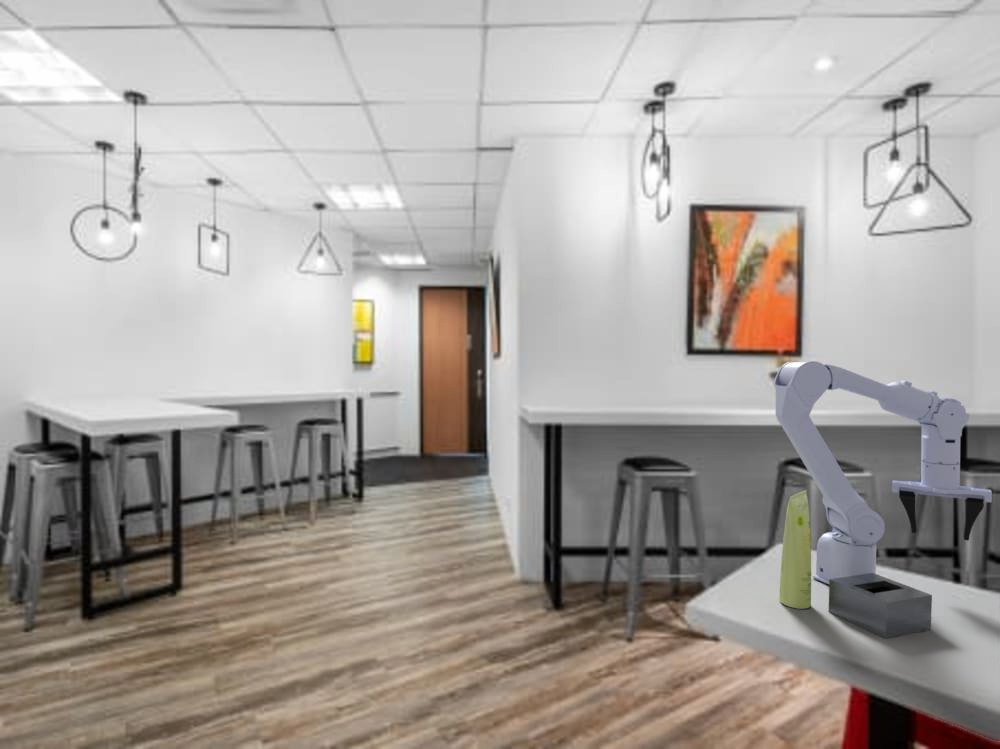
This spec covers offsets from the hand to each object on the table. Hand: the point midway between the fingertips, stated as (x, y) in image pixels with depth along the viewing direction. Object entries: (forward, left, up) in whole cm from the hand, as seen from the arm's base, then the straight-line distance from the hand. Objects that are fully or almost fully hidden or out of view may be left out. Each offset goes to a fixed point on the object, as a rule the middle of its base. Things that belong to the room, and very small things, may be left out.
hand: (939, 535), depth 107 cm
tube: (-4, -31, -11) cm, 33 cm away
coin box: (+6, -23, -11) cm, 25 cm away
